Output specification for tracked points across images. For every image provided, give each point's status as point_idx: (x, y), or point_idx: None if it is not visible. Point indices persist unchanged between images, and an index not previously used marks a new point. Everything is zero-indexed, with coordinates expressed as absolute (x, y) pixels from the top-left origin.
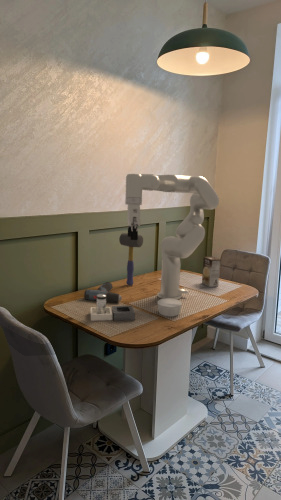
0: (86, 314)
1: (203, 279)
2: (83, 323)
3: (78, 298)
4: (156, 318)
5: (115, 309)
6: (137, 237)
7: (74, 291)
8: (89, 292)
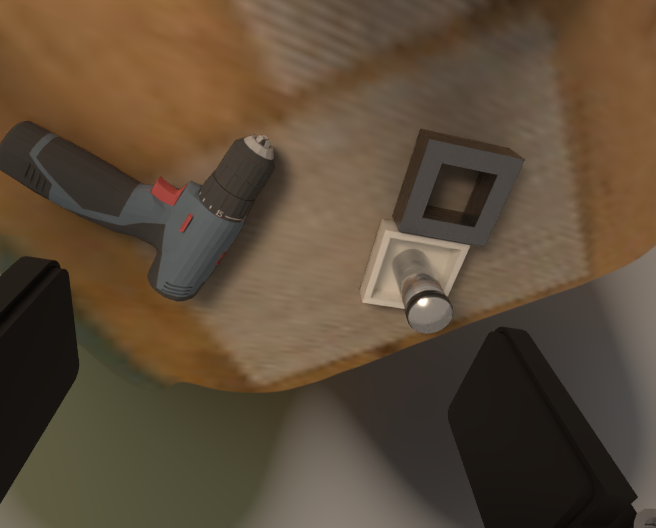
0: None
1: None
2: None
3: None
4: (544, 29)
5: (446, 228)
6: (545, 363)
7: None
8: (194, 284)
